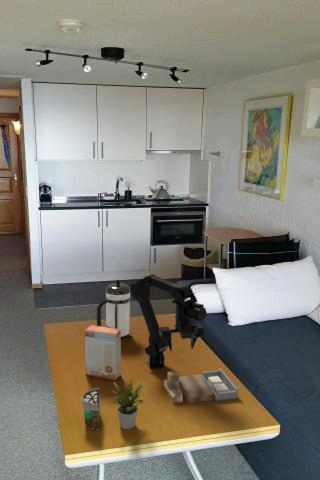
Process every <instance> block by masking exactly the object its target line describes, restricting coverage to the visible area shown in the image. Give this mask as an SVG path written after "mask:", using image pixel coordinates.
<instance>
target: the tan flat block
mask: <svg viewBox="0 0 320 480" xmlns="http://www.w3.org/2000/svg"><path fill="white" fill-rule="evenodd" d="M179 389H180V391H181V393H182V395H184V397H185V398H186V400H187V402H188V403H189V404H193V403H200V402H201V403H202V402H208V401H209V402H210V401H215V400H214V394H213V392H212V391H211V389H210V388H209V387H208V385H207V384H206V382H205V381H204V380H203V378H202V377H201V375H200V374H193V375H185V376H179Z"/></svg>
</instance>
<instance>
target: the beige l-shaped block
mask: <svg viewBox="0 0 320 480" xmlns="http://www.w3.org/2000/svg"><path fill="white" fill-rule="evenodd" d="M179 377H180V373H179V372H178V370H175V371H174V370H173V371H167V378H166V379H163V388H164V389H165V391H166V393H167V395H168V397H169V399H170V401H171V403H172V404H176V403H183V400H184V396H183V395H184V394H183V392H182V390H181V388H180V387H179Z"/></svg>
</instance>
